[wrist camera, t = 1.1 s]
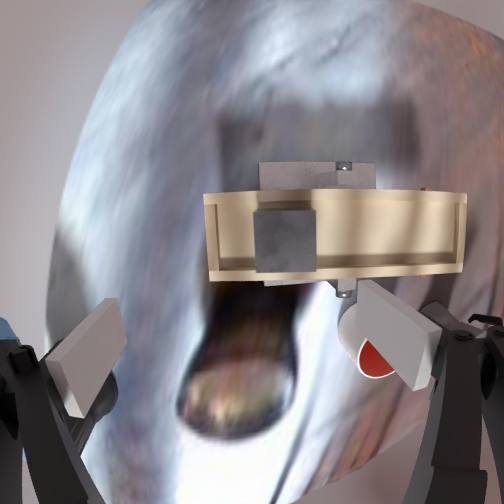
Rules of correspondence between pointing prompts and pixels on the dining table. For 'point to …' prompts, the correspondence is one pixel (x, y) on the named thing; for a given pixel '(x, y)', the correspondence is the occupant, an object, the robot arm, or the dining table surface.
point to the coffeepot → (452, 323)
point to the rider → (285, 240)
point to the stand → (317, 178)
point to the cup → (361, 347)
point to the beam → (344, 232)
